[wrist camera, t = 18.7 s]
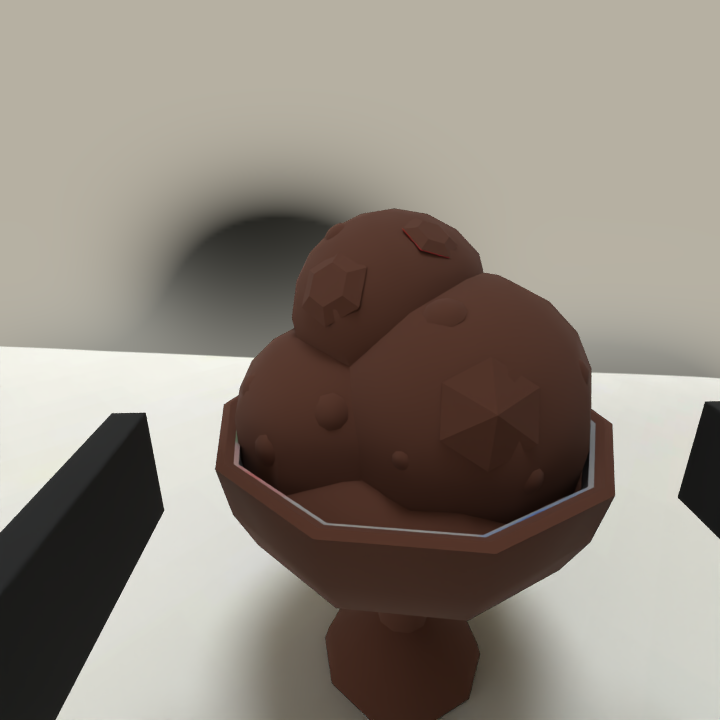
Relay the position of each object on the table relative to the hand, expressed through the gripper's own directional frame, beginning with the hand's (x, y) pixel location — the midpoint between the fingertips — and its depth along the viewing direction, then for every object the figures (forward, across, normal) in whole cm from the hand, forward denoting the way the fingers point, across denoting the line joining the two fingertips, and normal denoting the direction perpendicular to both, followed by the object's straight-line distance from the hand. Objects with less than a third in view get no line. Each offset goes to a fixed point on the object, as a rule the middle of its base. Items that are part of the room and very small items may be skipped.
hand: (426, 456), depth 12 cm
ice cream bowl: (+2, 0, -10) cm, 10 cm away
